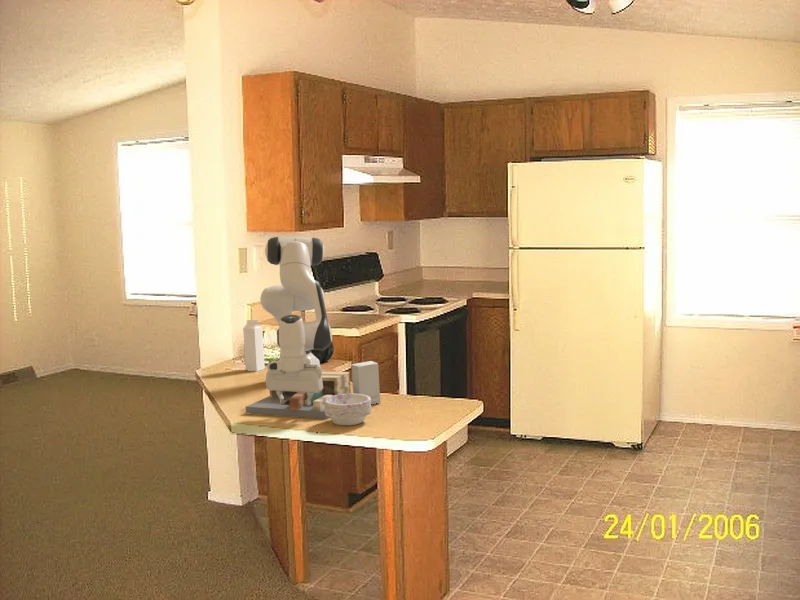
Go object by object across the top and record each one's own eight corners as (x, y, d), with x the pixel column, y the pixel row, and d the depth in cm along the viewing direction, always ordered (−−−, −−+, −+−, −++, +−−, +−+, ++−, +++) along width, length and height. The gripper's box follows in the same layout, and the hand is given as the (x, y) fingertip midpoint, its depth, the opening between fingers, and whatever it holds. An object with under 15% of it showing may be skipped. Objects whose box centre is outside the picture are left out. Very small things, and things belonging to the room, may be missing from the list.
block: (310, 400, 303) (309, 387, 303) (322, 400, 302) (322, 387, 302) (306, 403, 299) (306, 390, 298) (319, 403, 298) (318, 390, 297)
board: (282, 396, 322) (282, 390, 321) (358, 400, 310) (358, 394, 310) (246, 413, 298) (245, 406, 297) (326, 418, 286) (326, 411, 286)
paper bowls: (358, 430, 271) (357, 405, 270) (316, 426, 278) (315, 402, 277) (380, 418, 285) (379, 394, 284) (339, 414, 291) (338, 391, 290)
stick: (326, 403, 298) (326, 394, 298) (333, 403, 297) (332, 394, 297) (313, 409, 289) (313, 401, 289) (320, 410, 288) (319, 401, 288)
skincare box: (373, 400, 309) (372, 360, 308) (381, 404, 304) (379, 362, 302) (352, 404, 306) (350, 363, 304) (359, 407, 300) (357, 365, 299)
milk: (256, 371, 372) (253, 321, 370) (245, 370, 375) (242, 320, 372) (265, 368, 378) (262, 319, 375) (253, 368, 380) (250, 318, 378)
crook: (303, 399, 306) (303, 387, 305) (325, 399, 304) (324, 388, 304) (290, 410, 290) (289, 398, 290) (312, 410, 289) (312, 398, 288)
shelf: (284, 390, 321) (283, 369, 320) (350, 393, 311) (349, 371, 310) (269, 397, 311) (268, 375, 310) (337, 400, 301) (336, 378, 300)
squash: (307, 345, 401) (301, 325, 390) (338, 346, 398) (333, 326, 387) (301, 370, 392) (294, 350, 380) (333, 371, 389) (327, 351, 378)
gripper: (325, 363, 289) (327, 403, 290) (271, 361, 296) (274, 400, 298) (316, 366, 283) (318, 407, 285) (262, 364, 290) (264, 404, 292)
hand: (295, 404), depth 291 cm, fingers open, 8 cm apart
